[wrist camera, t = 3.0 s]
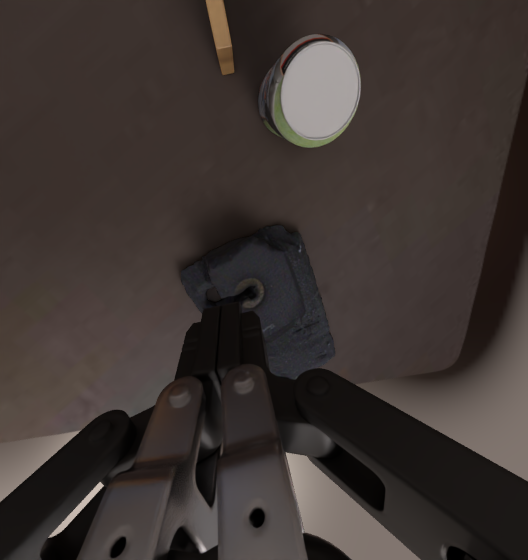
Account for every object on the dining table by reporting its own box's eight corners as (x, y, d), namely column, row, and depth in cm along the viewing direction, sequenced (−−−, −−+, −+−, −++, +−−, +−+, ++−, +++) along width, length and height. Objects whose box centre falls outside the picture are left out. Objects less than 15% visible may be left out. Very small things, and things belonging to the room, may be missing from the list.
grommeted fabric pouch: (244, 388, 40) (244, 415, 36) (173, 261, 31) (162, 276, 27) (340, 355, 39) (352, 379, 34) (294, 213, 30) (303, 222, 26)
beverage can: (308, 55, 24) (361, -34, 14) (328, 139, 27) (384, 122, 16) (245, 82, 25) (247, 16, 14) (271, 162, 28) (289, 159, 17)
